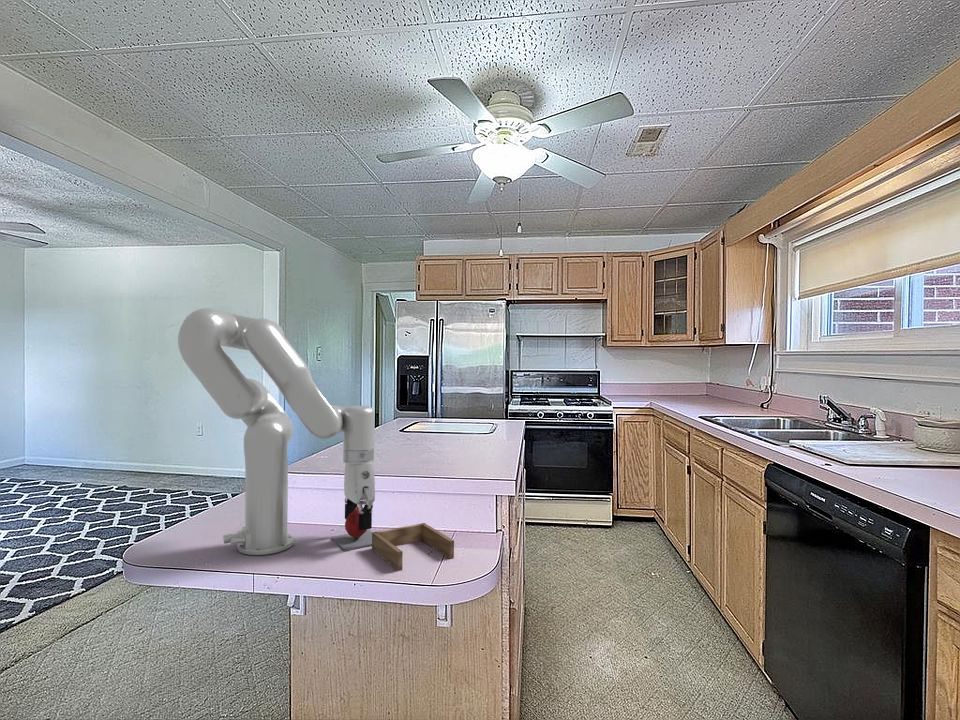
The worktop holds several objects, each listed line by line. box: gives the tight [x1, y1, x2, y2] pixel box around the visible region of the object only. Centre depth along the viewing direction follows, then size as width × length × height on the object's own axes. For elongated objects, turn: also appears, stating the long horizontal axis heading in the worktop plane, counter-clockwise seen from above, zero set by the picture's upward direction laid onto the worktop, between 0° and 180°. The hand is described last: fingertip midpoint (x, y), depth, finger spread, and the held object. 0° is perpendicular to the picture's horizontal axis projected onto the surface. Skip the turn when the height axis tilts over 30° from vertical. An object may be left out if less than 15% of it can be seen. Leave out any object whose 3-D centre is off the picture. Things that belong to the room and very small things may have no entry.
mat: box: [331, 529, 373, 552], centre depth 131 cm, size 10×10×1 cm
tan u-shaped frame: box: [371, 522, 455, 572], centre depth 123 cm, size 14×15×4 cm
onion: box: [344, 506, 368, 539], centre depth 131 cm, size 6×6×8 cm
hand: (357, 523), depth 131 cm, fingers open, 9 cm apart
